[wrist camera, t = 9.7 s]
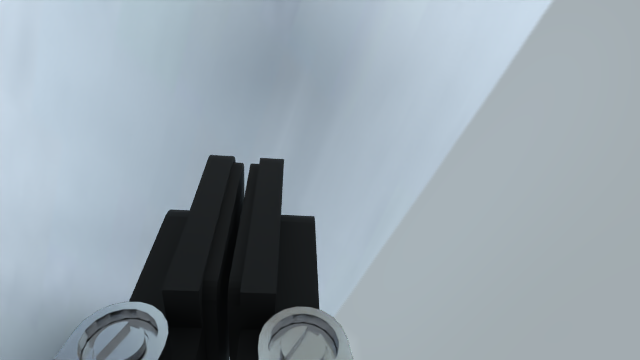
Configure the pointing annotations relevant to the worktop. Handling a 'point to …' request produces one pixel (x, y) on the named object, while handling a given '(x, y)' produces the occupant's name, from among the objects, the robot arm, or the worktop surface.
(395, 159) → the worktop surface
